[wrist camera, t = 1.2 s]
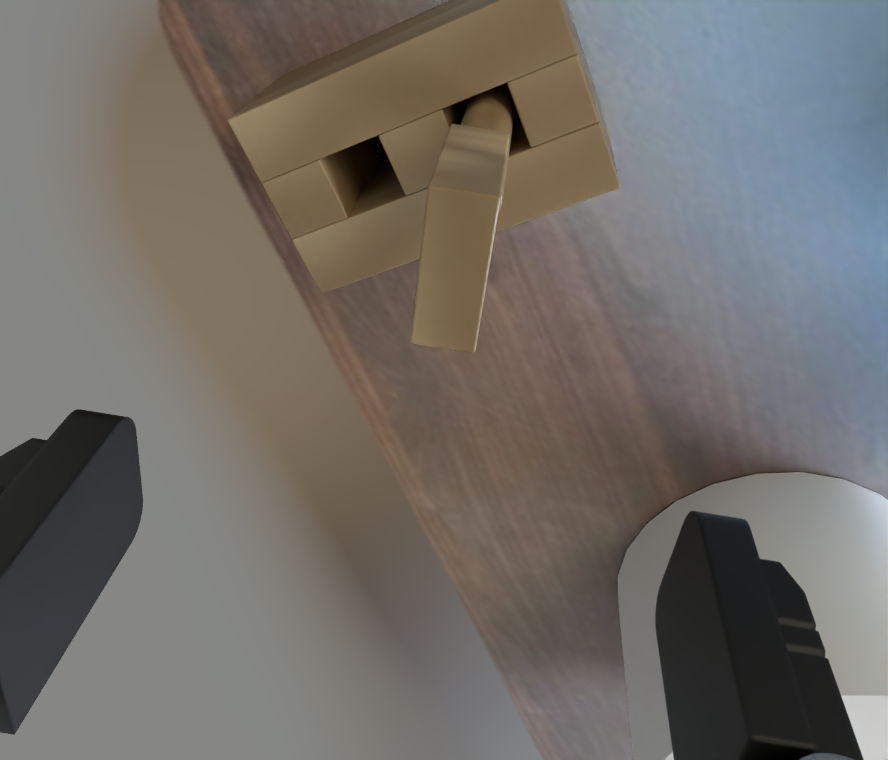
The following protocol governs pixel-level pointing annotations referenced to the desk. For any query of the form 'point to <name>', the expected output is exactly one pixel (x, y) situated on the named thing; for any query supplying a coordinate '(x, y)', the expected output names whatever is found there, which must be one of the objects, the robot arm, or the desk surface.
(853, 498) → the cylinder
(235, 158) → the desk surface
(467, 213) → the wooden paddle
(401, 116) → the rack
